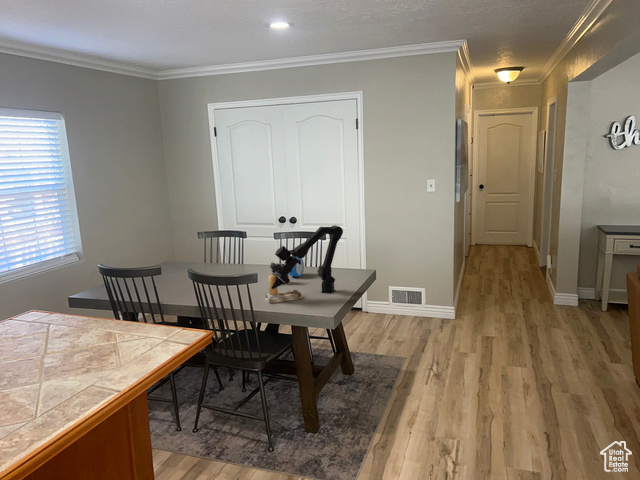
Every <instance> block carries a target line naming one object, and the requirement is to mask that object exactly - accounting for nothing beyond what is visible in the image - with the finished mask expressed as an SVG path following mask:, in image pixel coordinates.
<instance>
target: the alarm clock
mask: <svg viewBox="0 0 640 480" xmlns="http://www.w3.org/2000/svg"><path fill="white" fill-rule="evenodd" d="M291 256H292V257H296V256H293V255H291ZM296 258H297V259H300V260H301V265H300V264H298V263H297V264H296V265H295V267H294V268H293V269H292V270H291V271H292V272H290V273H289V274H288V276H290V277H295V278H300V277H302V275H303V273H304V270H305V269H304V268H305V262H304V258H298V257H296Z"/></svg>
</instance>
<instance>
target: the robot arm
mask: <svg viewBox="0 0 640 480" xmlns="http://www.w3.org/2000/svg"><path fill="white" fill-rule="evenodd" d="M343 233H344V229H343V228H342V227H341V226H338V225H336V224H335V225H332V226H319V227H318V229H316V230H315V231H314V233H313V234H311V235H310V237H308V238H307V239H306V240H305V241H304V242H303V243H300V244H299V245H297V246H295V247H294V249H288V248H287V247H286V246H285V245H282V246H280V247H279V248H277V250H276V251H275V253H274V255H275V256H276V257H277V258H278V259H279V260H281V261H282V262H284V261H285V262H284V263H281V264H280V263H278V262H277V263H275V262H270V263H271V264H270V265H269V268H270V270H271V272H272V274H271V275H276V281H275V283H274V284H273V286H272V289H274V288H276V287H277V288H278V287H281V286H284V285H283V284H285V283H284V282H286V283H287V285H289V284H288V283H291V280H290V278H287V275H288V276H289V273H290V272H292V271H291V270H292V269H293V268H294V267H295V265H296V264H297V263H298V264H300V265H301V260H300V259H297V258H296V257H298V258H302V259H304V257H306V256H307V254H308V253H309V250H310V249H311V248H312V247H313V246H314V245H315V244H316V243H317V242H318V241H319V240H320V239H321V238H322V237H323V236H324V235H328V238H329V242H328V246H327V247H326V248H327V249H326V252H325V255H324V260H323V263H322V265H319V266H318V269H317V271H316V272H317V275H318V276H317V277H319V278H320V280H321V281H322V282H321V293H323V294H332V293H334V292H336V289H335V281H336V278H335V277H333V276H332V272H333V271H332V264H333V259H334V256H335V251H336V249H337V245H338V243H339V241H340V239H341V237H342V236H343ZM292 255H293V256H296V257H292ZM280 285H281V286H280Z"/></svg>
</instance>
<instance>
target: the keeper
mask: <svg viewBox="0 0 640 480" xmlns="http://www.w3.org/2000/svg"><path fill="white" fill-rule="evenodd" d="M275 281H276V275H273V274H270V275H268V288H269V293H267V294H266V295H267V297H268V298H276V297H280V294H279V293H280V292H278V291H279V290H278V287H276V288H274V289H272V286H273V284H274V283H275Z"/></svg>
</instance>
